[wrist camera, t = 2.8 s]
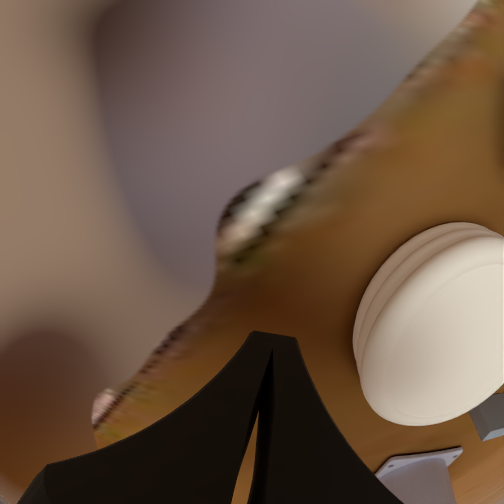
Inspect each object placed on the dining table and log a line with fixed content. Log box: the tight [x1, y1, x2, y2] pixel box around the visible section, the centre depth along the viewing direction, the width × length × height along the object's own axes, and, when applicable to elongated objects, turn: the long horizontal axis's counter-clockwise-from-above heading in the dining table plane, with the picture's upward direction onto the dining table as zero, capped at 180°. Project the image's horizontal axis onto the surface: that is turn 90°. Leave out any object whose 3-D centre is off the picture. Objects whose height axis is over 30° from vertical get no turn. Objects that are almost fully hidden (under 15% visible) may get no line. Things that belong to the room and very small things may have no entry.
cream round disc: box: [353, 222, 504, 426], centre depth 10 cm, size 10×10×4 cm
